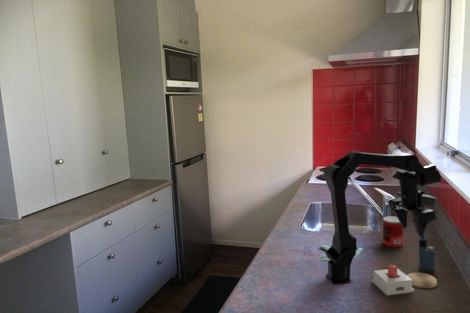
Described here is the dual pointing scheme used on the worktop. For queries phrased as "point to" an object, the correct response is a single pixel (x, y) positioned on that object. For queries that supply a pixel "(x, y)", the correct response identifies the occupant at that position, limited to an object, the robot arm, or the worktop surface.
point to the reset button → (392, 271)
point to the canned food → (392, 232)
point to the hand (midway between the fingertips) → (413, 232)
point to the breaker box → (392, 282)
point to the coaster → (422, 280)
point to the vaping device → (426, 255)
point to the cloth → (329, 247)
